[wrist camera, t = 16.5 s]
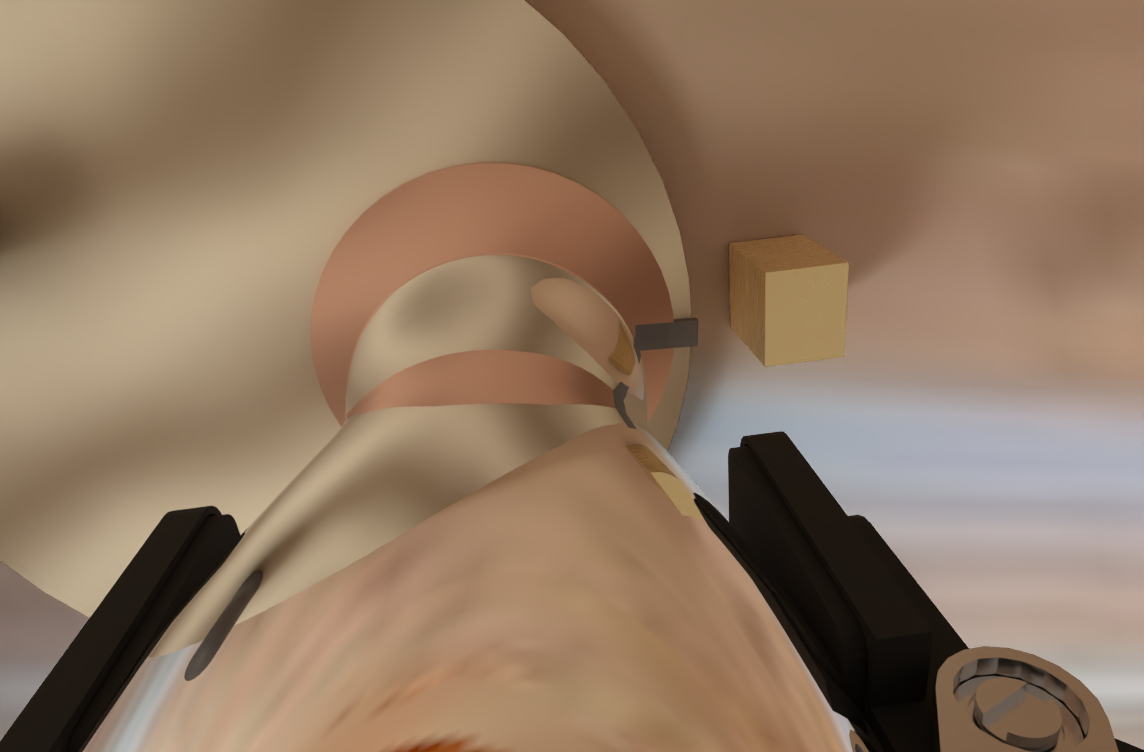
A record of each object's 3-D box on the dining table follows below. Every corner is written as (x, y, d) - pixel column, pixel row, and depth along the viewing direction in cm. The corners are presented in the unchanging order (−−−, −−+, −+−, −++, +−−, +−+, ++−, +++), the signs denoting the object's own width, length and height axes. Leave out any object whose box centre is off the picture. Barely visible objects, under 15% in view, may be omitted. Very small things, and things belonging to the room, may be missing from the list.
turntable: (-312, 241, 18) (-596, 307, 13) (366, -323, 15) (307, -492, 10) (275, 730, 25) (225, 880, 21) (799, 420, 22) (877, 513, 18)
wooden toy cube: (730, 326, 21) (765, 366, 18) (729, 243, 20) (765, 272, 18) (799, 317, 21) (844, 357, 19) (801, 234, 20) (848, 262, 18)
